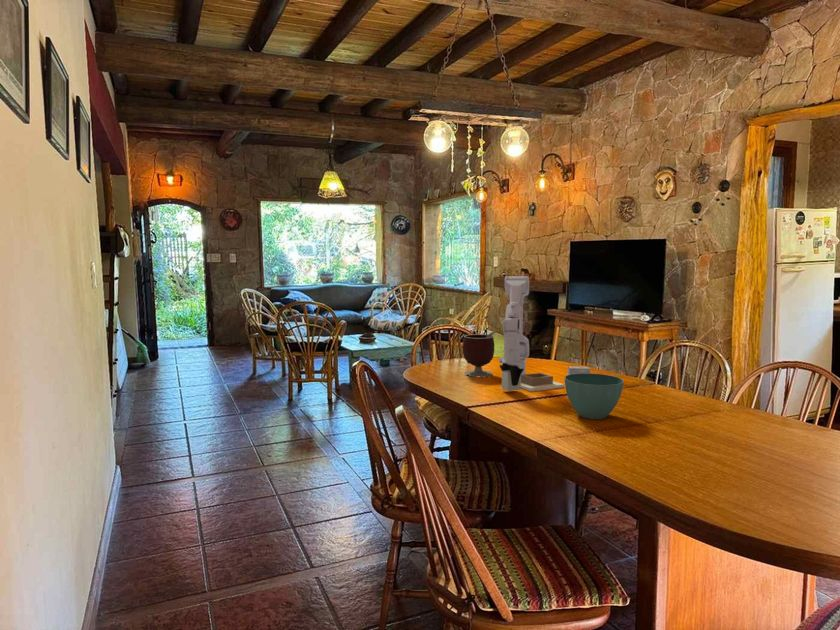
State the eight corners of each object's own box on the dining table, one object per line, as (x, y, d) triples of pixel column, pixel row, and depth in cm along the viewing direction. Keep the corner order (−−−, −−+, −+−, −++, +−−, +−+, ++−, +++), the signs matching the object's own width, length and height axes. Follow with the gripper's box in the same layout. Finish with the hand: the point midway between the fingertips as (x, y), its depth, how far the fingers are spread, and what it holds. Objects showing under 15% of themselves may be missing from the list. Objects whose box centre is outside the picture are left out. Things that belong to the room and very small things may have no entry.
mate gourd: (459, 376, 248) (459, 331, 246) (466, 370, 262) (466, 327, 260) (495, 378, 244) (495, 332, 242) (500, 372, 257) (500, 328, 255)
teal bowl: (620, 410, 191) (621, 374, 190) (624, 425, 174) (625, 386, 173) (564, 407, 196) (565, 371, 195) (563, 421, 179) (563, 382, 178)
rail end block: (501, 388, 220) (502, 370, 219) (514, 387, 222) (515, 369, 222) (507, 391, 216) (507, 372, 215) (520, 389, 219) (521, 371, 218)
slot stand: (510, 384, 232) (510, 374, 232) (541, 380, 239) (542, 370, 239) (530, 391, 219) (531, 380, 219) (564, 387, 226) (564, 376, 226)
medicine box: (587, 388, 225) (588, 366, 224) (590, 390, 221) (590, 368, 220) (567, 387, 226) (567, 366, 225) (569, 390, 221) (569, 368, 221)
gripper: (492, 347, 222) (492, 381, 224) (514, 352, 209) (513, 389, 211) (507, 345, 225) (507, 379, 227) (529, 351, 212) (529, 387, 214)
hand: (511, 384), depth 219 cm, fingers closed on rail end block, 4 cm apart
